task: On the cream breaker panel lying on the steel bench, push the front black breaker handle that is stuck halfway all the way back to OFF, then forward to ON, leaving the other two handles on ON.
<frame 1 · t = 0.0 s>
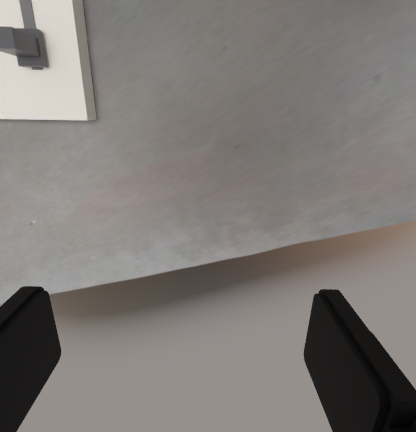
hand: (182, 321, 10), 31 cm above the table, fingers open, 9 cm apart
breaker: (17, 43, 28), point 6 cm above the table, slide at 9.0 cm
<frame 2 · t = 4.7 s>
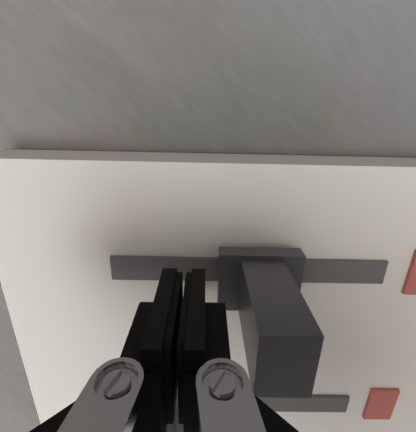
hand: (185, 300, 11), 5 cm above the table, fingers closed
breaker panel: (232, 358, 19), on the table
tripped breaker: (268, 310, 10), point 6 cm above the table, slide at 4.2 cm, touching gripper
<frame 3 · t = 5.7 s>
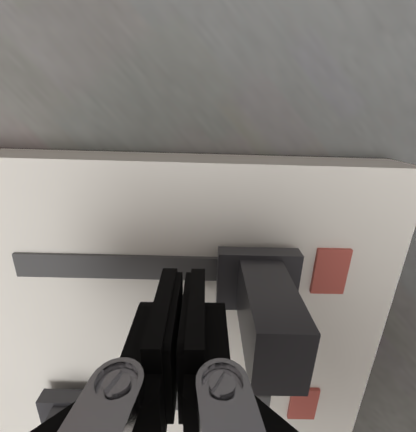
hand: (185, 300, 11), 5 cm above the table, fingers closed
breaker panel: (166, 357, 19), on the table
tripped breaker: (266, 310, 10), point 6 cm above the table, slide at -0.3 cm, touching gripper
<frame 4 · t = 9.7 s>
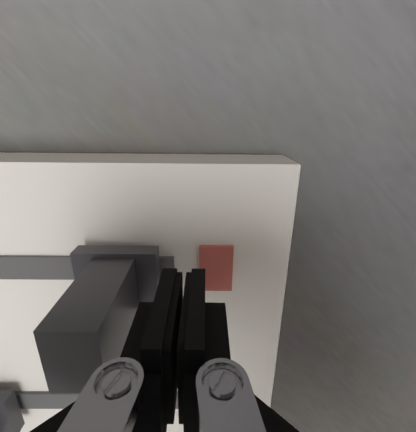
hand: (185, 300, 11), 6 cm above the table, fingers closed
breaker panel: (90, 356, 19), on the table
tripped breaker: (102, 308, 10), point 6 cm above the table, slide at 0.4 cm, touching gripper
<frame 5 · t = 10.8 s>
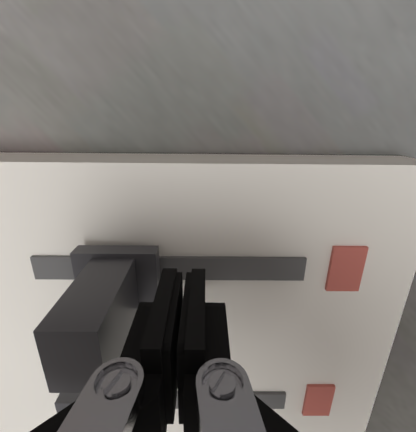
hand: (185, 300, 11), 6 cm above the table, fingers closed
breaker panel: (180, 356, 19), on the table
tripped breaker: (102, 307, 10), point 6 cm above the table, slide at 6.7 cm, touching gripper
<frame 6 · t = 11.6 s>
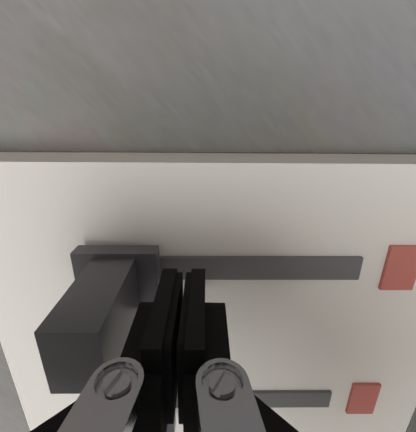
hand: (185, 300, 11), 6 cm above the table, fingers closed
breaker panel: (218, 355, 19), on the table
tripped breaker: (103, 308, 10), point 6 cm above the table, slide at 9.4 cm, touching gripper
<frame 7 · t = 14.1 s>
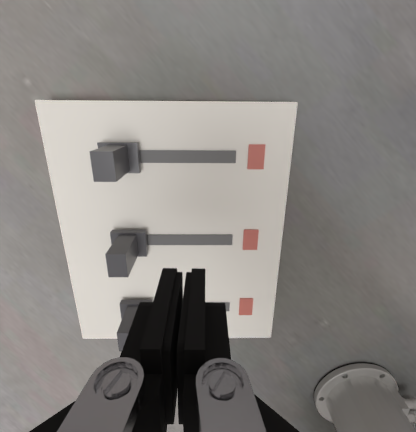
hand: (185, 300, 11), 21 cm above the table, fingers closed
breaker panel: (175, 228, 33), on the table
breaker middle: (124, 252, 27), point 6 cm above the table, slide at 9.0 cm
tripped breaker: (113, 161, 24), point 6 cm above the table, slide at 9.1 cm
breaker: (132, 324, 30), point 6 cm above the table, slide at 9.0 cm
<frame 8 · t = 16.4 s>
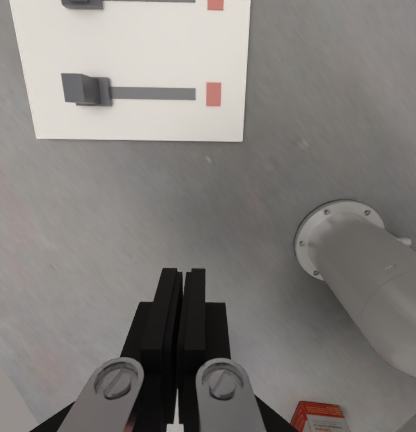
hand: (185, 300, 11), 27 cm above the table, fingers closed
medicine box: (307, 426, 55), on the table
breaker panel: (137, 5, 30), on the table
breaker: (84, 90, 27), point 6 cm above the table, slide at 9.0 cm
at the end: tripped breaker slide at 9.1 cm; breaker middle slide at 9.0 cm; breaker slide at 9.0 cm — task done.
